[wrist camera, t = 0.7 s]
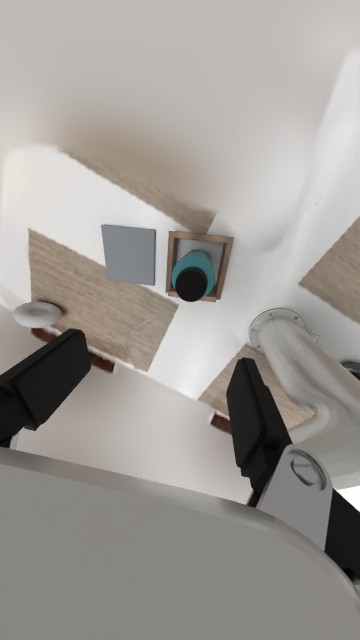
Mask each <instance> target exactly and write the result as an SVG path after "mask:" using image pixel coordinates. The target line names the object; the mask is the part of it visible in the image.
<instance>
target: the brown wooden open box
mask: <svg viewBox="0 0 360 640" xmlns="http://www.w3.org/2000/svg"><path fill="white" fill-rule="evenodd" d="M178 238H184V239H193V240H203V241H213V242H222V243H224V246H223V251H222V256H221V261H220V266H219V271H218V276H217V281H216V286H215V288H212V289H211V291H210V292H209V293H208V294H207V295H206V296H204V297H202V298H201V299H199V300H202V301H209V302H216V300H217V299H218V300H220V298H221V293H222V289H223V284H224V280H225V275H226V270H227V266H228V261H229V257H230V252H231V248H232V243H233V239H234V237H224V236H214V235H204V234H194V233H184V232H174V231H169V239H168V259H167V278H166V293H168V296H173V297H179V296H178V294H177V293H176V290H175V288H174V286H173V284H172V272H173V269H174V267H175V265H176V256H177V243H178Z"/></svg>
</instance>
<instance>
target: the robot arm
mask: <svg viewBox="0 0 360 640" xmlns="http://www.w3.org/2000/svg"><path fill="white" fill-rule="evenodd" d="M249 338H250V341H251V343H252V344H253V346H254V347H255V348H257V349H258V350H260V351H263V353H264V355H265V357H266V358H267V360H268V362H269V364H270V366H271V368H272V370H273V372H274V374H275V376H276V378H277V380H278V382H279V384H280V386H281V387H282V389H283V391H284V393H285V394H286V396H287V397H288V398H289V399H290V400H291V401H292V402H293V403H295V404H296V405H298V406H299V407H301V408H303V409H305V410H307V411H309V412H311V413H313V414H314V415H313V416H312V417H311V418H309V419H307V420H305V421H303V422H302V423H300V424H298V425H296V426H294V427H292V428H289V429H287V428H286V426H285V424H284V422H283V419H282V417H281V415H280V412H279V410H278V408H277V406H276V403H275V401H274V399H273V396H272V394H271V392H270V390H269V388H268V387H267V386H266V385H264V382H263V380H262V378H261V375H260V373H259V370H258V368H257V366H256V363H255V361H254V359H250V358H244V357H242V359H239V360H238V361H237V364H236V367H235V370H234V372H233V375H232V378H231V380H230V383H229V386H228V389H227V393H226V396H227V404H228V410H229V417H230V424H231V431H232V438H233V445H234V452H235V458H236V464H237V466H238V467H240V468H241V475H242V476H244V477H249V478H250V482H251V487H252V488H253V490H252V492H251V494H250V497H249V499H248V501H247V503H246V505H244V504H241V503H238V502H234V501H231V500H227V499H223V498H219V497H215V496H211V495H207V494H203V493H199V492H196V491H192V490H188V489H183V488H179V487H174V486H170V485H166V484H161V483H158V482H153V481H149V480H145V479H141V478H136V477H132V476H127V475H123V474H119V473H115V472H110V471H106V470H101V469H97V468H92V467H88V466H84V465H79V464H75V463H71V462H66V461H62V460H58V459H53V458H49V457H44V456H40V455H35V454H31V453H26V452H22V451H17V450H16V444H17V440H18V434H19V431H20V430H21V429H22V428H23V427H24V428H25V429H28V430H33V431H36V429H37V428H38V427H39V426H40V425H41V424H43V423H45V422H46V421H47V420H48V418H49V417H50V416H51V415H52V414H53V413H54V411H55V410H56V409H57V408H58V407H59V406H60V405H61V403H62V402H63V401H64V400H65V399H66V398H67V396H68V395H69V394H70V393H71V392H72V391H73V389H74V388H75V387H76V386H77V385H78V384H79V382H80V381H81V380H82V379H83V378H84V377H85V375H86V374H87V373H88V372H89V371H90V369H91V362H90V357H89V353H88V348H87V343H86V338H85V334H84V333H83V332H82V331H81V330H78V329H72V328H71V329H68V330H67V331H65V332H64V333H62V334H61V335H59V336H58V337H56V338H55V339H54V340H52V341H51V342H49V343H48V344H46V345H45V346H43V347H42V348H40V349H39V350H37V351H36V352H34V353H33V354H31V355H30V356H28V357H27V358H25V359H24V360H22V361H21V362H19V363H18V364H16V365H15V366H13V367H12V368H10V369H9V370H8V371H6V372H5V373H3V374H2V375H0V640H360V381H359V380H358V379H357V378H356V377H355V376H353V375H352V374H351V373H350V372H349V371H348V370H347V369H346V368H344V367H343V366H342V365H341V364H340V363H339V362H338V361H337V360H335V359H334V358H333V357H332V356H331V355H330V354H329V353H328V352H327V351H326V350H325V349H323V348H322V347H321V346H320V345H319V344H318V343H317V342H316V341H317V340H318V339H319V336H318V335H314V334H309V333H308V332H307V331H306V330H305V327H304V322H303V320H302V319H301V318H300V316H298V315H297V314H296V313H294V312H293V311H290V310H287V309H274V310H270V311H267V312H265V313H263V314H261V315H259V316H258V317H257V318H256V319H255V320H254V321H253V323H252V324H251V326H250V329H249Z"/></svg>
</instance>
